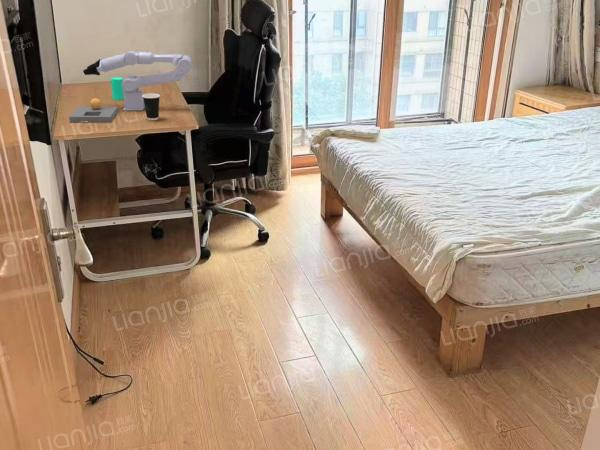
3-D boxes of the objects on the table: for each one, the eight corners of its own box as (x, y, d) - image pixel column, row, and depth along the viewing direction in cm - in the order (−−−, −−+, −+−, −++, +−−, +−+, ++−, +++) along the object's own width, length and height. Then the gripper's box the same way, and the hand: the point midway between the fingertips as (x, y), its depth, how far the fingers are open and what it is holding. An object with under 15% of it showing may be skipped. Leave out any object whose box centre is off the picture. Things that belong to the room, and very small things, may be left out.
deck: (117, 111, 291) (117, 106, 290) (110, 122, 275) (110, 117, 274) (79, 111, 289) (78, 106, 288) (70, 122, 273) (69, 116, 272)
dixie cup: (142, 120, 278) (140, 97, 274) (146, 116, 286) (144, 93, 281) (159, 121, 278) (157, 97, 274) (163, 116, 286) (161, 93, 281)
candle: (112, 100, 311) (110, 76, 305) (112, 97, 316) (110, 74, 311) (124, 99, 312) (122, 76, 307) (124, 97, 317) (122, 74, 312)
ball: (102, 107, 288) (101, 97, 286) (100, 110, 283) (99, 99, 281) (91, 107, 287) (90, 97, 285) (89, 110, 283) (88, 99, 281)
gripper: (112, 51, 292) (86, 59, 292) (106, 57, 279) (78, 65, 279) (118, 66, 295) (91, 73, 295) (112, 72, 282) (85, 80, 282)
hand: (85, 70), depth 287 cm, fingers open, 7 cm apart
